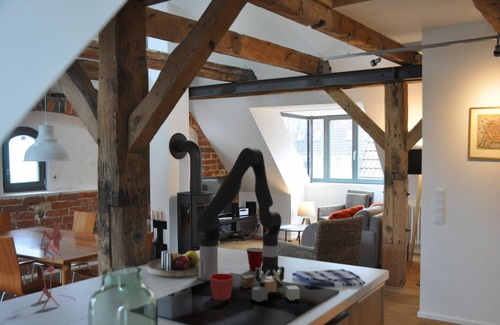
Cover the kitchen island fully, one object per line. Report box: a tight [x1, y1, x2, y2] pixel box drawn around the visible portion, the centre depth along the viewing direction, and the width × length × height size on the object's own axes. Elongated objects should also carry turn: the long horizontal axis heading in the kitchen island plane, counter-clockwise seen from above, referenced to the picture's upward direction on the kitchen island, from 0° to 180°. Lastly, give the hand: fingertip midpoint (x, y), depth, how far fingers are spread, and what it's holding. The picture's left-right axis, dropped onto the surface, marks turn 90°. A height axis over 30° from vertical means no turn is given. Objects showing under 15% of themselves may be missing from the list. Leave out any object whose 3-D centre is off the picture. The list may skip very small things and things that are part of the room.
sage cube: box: [285, 285, 301, 301], centre depth 215 cm, size 5×5×5 cm
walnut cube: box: [240, 274, 256, 289], centre depth 233 cm, size 5×5×5 cm
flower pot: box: [209, 273, 234, 301], centre depth 215 cm, size 11×11×10 cm
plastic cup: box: [245, 247, 263, 272], centre depth 263 cm, size 11×11×12 cm
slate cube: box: [251, 285, 268, 303], centre depth 213 cm, size 5×5×5 cm
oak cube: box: [271, 271, 284, 285], centre depth 239 cm, size 5×5×5 cm
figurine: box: [38, 221, 75, 313], centre depth 205 cm, size 15×26×35 cm, turn 35°
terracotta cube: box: [263, 278, 277, 294], centre depth 225 cm, size 5×5×5 cm
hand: (269, 289), depth 225 cm, fingers open, 7 cm apart
